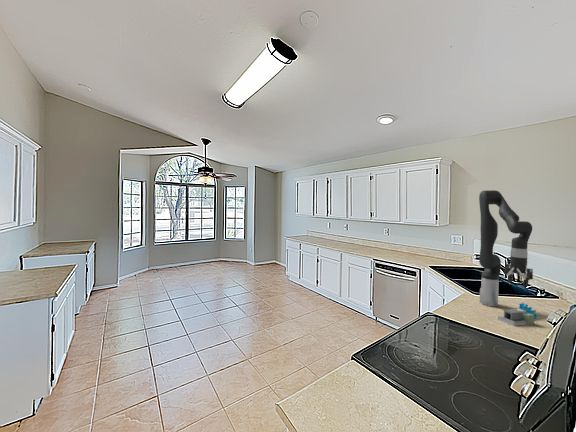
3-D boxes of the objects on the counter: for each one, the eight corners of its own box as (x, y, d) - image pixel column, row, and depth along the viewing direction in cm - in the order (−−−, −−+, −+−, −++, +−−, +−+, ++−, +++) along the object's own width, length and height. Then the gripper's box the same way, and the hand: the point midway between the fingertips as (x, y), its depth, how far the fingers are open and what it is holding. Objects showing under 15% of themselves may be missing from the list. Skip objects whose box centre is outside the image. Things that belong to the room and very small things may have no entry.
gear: (528, 318, 157) (517, 301, 164) (519, 322, 161) (509, 306, 168) (543, 319, 159) (531, 303, 166) (534, 324, 163) (523, 307, 170)
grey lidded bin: (513, 317, 159) (513, 309, 159) (522, 321, 154) (522, 312, 154) (503, 318, 157) (503, 310, 157) (512, 322, 153) (512, 313, 152)
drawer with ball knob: (497, 319, 160) (497, 308, 159) (515, 317, 163) (515, 307, 163) (514, 326, 150) (515, 315, 150) (534, 324, 153) (534, 313, 153)
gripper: (537, 258, 154) (535, 287, 155) (511, 253, 168) (510, 280, 169) (526, 258, 153) (525, 288, 153) (501, 254, 166) (500, 281, 167)
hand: (517, 284), depth 161 cm, fingers open, 8 cm apart
